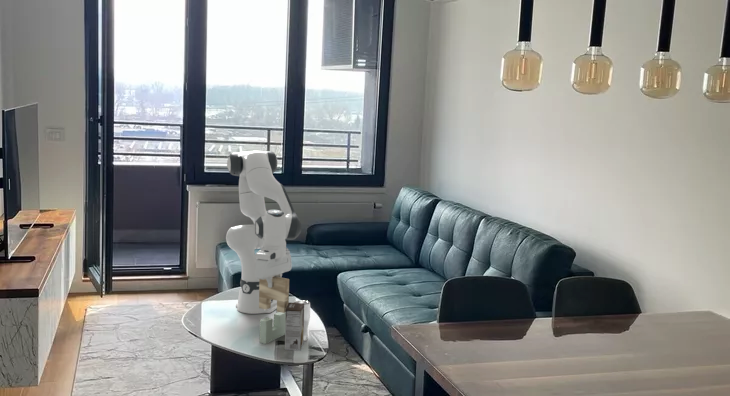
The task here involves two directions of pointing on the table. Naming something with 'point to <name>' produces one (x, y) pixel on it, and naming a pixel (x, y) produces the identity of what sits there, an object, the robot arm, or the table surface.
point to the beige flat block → (274, 293)
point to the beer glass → (305, 318)
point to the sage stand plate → (272, 328)
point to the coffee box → (294, 326)
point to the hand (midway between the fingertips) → (273, 285)
